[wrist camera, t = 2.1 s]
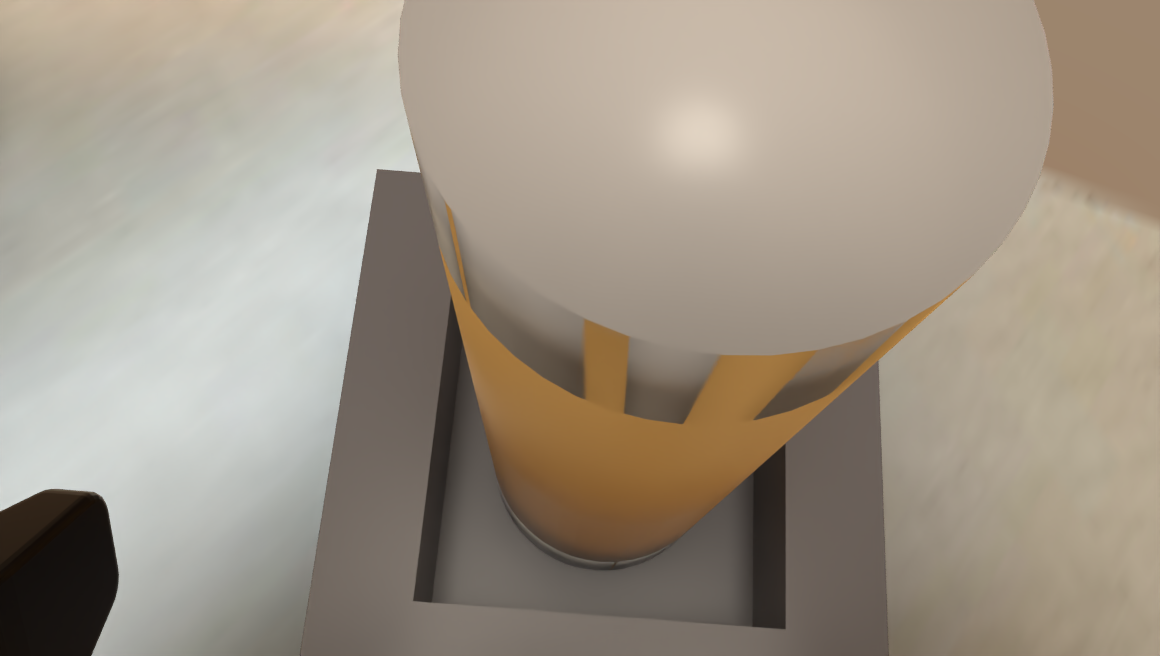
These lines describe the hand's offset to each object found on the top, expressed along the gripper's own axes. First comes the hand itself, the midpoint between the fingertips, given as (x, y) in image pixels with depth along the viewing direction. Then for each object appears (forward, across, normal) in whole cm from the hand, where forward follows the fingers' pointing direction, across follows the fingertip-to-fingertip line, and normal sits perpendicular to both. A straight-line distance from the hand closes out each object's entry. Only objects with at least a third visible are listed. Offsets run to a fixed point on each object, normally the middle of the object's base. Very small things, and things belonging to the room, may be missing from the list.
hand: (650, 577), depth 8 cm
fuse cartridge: (+9, 0, +5) cm, 10 cm away
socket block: (+9, 0, +5) cm, 11 cm away
